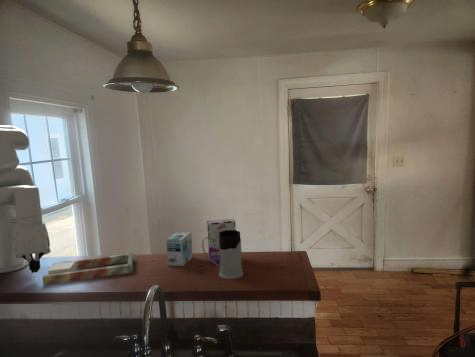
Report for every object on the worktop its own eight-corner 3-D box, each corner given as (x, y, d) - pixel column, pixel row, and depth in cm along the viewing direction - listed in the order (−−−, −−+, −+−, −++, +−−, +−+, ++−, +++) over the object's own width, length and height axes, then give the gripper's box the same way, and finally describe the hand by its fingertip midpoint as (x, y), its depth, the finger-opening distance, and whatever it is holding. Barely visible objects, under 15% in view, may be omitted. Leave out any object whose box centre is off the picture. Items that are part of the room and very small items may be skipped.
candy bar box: (235, 257, 125) (233, 218, 124) (237, 261, 121) (235, 220, 119) (208, 260, 123) (206, 220, 122) (209, 264, 118) (207, 223, 117)
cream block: (49, 281, 108) (48, 270, 108) (55, 274, 115) (54, 263, 114) (70, 278, 110) (69, 268, 109) (76, 271, 116) (75, 261, 116)
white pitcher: (243, 278, 104) (242, 235, 103) (202, 280, 104) (200, 237, 103) (242, 268, 113) (241, 229, 112) (204, 270, 113) (203, 230, 112)
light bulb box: (183, 266, 117) (182, 239, 116) (167, 266, 118) (165, 239, 117) (193, 257, 127) (191, 232, 127) (178, 256, 129) (176, 231, 128)
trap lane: (43, 285, 104) (42, 277, 104) (54, 270, 118) (53, 263, 117) (132, 272, 113) (131, 264, 113) (133, 260, 126) (132, 253, 126)
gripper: (0, 225, 102) (6, 279, 103) (50, 220, 106) (56, 271, 107) (9, 221, 109) (15, 271, 110) (56, 216, 113) (61, 264, 115)
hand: (35, 271), depth 109 cm, fingers closed
